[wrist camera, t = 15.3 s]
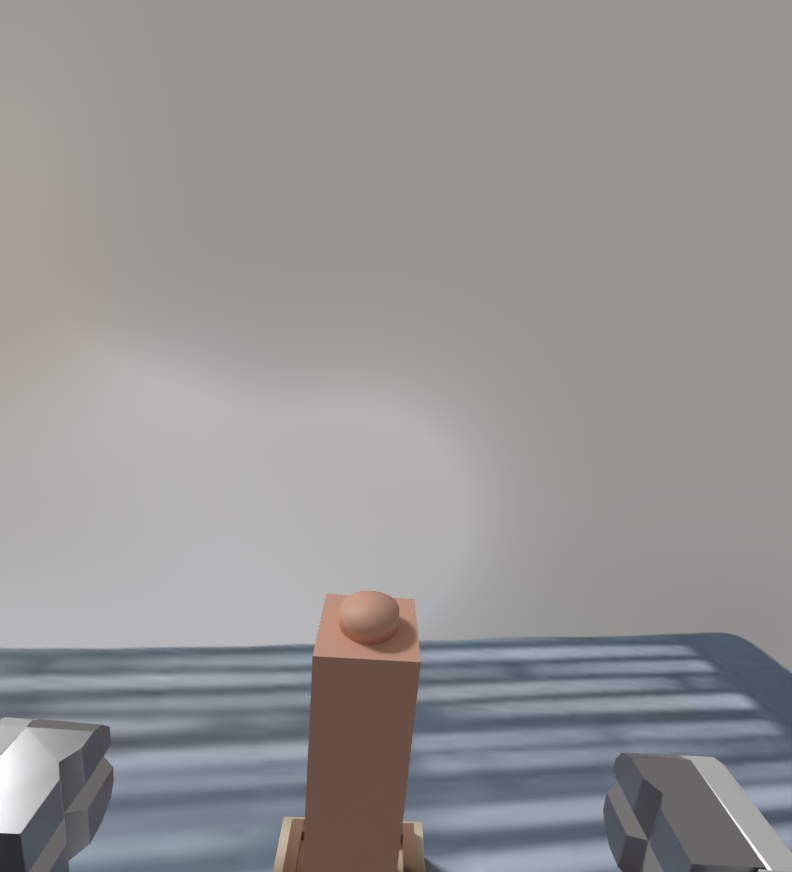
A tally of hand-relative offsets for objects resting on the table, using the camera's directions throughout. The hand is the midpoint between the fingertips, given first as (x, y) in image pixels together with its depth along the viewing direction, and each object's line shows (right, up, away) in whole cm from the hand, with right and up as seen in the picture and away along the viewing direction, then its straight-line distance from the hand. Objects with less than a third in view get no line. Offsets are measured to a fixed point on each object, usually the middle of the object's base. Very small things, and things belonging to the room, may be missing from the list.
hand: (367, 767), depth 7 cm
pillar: (-3, -24, +21) cm, 32 cm away
